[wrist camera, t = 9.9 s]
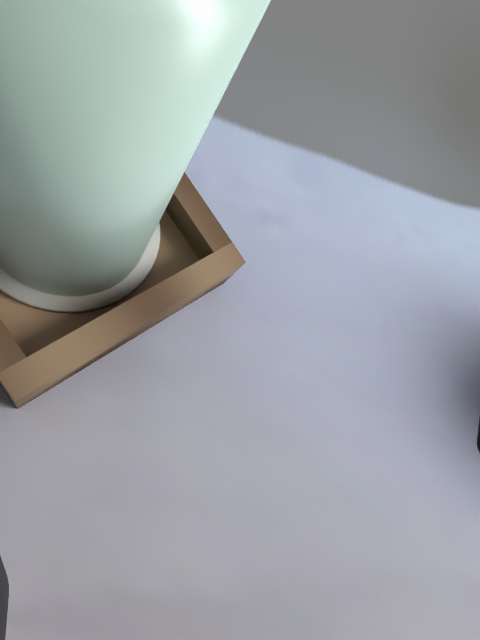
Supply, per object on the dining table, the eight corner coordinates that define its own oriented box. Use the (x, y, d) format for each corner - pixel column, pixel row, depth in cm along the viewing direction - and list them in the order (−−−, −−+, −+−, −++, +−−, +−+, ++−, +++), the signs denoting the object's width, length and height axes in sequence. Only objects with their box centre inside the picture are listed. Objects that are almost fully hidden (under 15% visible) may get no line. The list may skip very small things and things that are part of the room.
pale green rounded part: (85, 328, 17) (165, 99, 6) (-62, 225, 16) (-273, -263, 5) (174, 220, 19) (338, -71, 9) (53, 126, 18) (72, -330, 8)
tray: (17, 408, 16) (14, 400, 14) (-137, 181, 17) (-166, 136, 14) (223, 283, 21) (245, 261, 19) (102, 106, 21) (110, 64, 19)
